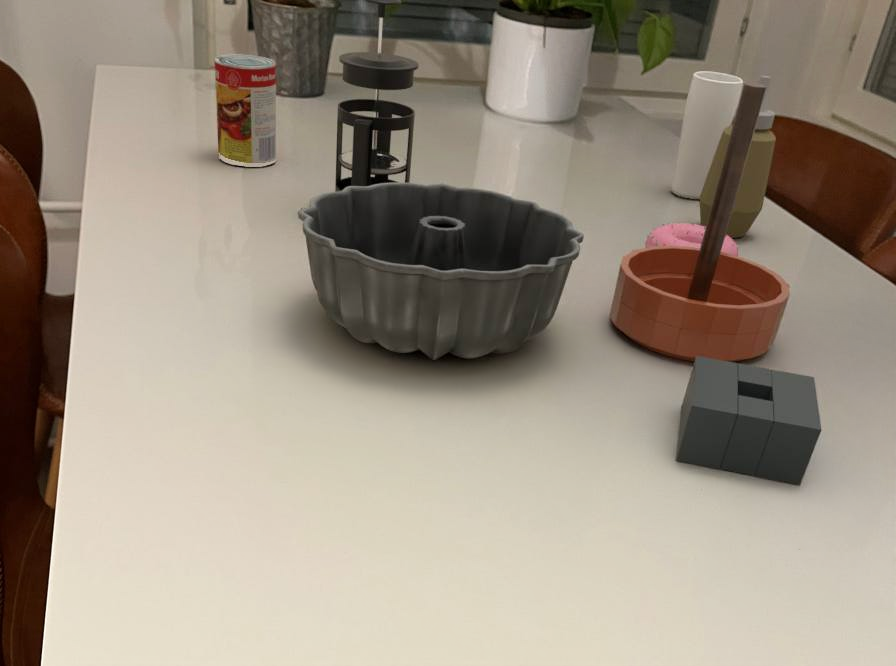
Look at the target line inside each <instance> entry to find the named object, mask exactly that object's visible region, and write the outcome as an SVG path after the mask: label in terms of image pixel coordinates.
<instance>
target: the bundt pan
mask: <svg viewBox="0 0 896 666" xmlns="http://www.w3.org/2000/svg"><path fill="white" fill-rule="evenodd" d="M308 205H309V206H307V207H304V208H300V209H299V210H298V211H297V215H298V219H299V220H300V221H302V232H303V235H304V236H305V242H306V249H307V256H308V262H309V268H310V270H309V271H310V276H311V280H312V284H313V286H314V290H315V291H316V294H317V297H318V301H319V304H320V305H321V307H322V309H323V311H324V312H325V313H326V315H327V316H328V317H329V318H330V319H331V320H332V321H333V322H335V323H336V324H337V325H339V326H340V327H342V328H344V329H346V331H347V333H349V335H350V336H351V337H352V338H353V339H354V340H357V341H359V342H361V343H363V344H376V343H377V344H379V345H380V346H381V347H382V348H384V349H386V350H388V351H390V352H393V353H398V354H408V353H409V354H410V353H414V352H416V351H419V350H420V351H421V352H422V353H423V354H424V355H426V356H427V357H428V358H429V359H430V360H432V361H436V360H438V359H439V358H441V357H443V356H445V355H446V354H448V353H450V354H452V355H453V356H455V357H457V358H461V359H477V358H481V357H483V356H485V355H488V354H490V353H492V354H493V353H494V354H498V355H499V354H501V355H505V354H509V353H512V352H515V351H516V350H518V349H519V348H520V347H522V346H523V344H524V343H525V342H527V341H529V340H531V339H534V338H535V337H537V336H538V335H539V334H541V333H542V332H543V331H544V330H545V329H546V328H547V326H549V324H551V321H552V319H553V318H554V316H555V314H556V311H557V309H558V306H559V303H560V300H561V297H562V295H563V292H564V289H565V286H566V283H567V279H568V276H569V274H570V270H571V267H572V264H573V261H575V260H576V259H578V257H579V255H580V252H581V245H580V244H582V242H583V241H584V237H585V234H584V233H582V232H580V231H578V230H576V229H574V227H573V223H572V221H571V220H570V219H569V218H567V216H565V215H563V214H561V213H558V212H556V211H553V210H551V209H546V208H542V207H540V205H539V204H538V203H537V202H536V201H531V200H525V199H519V198H514V197H512V196H510V195H508V194H505V193H501V192H498V191H493V190H488V189H483V188H473V187H458V186H455V185H450V184H447V183H446V184H445V183H430V184H423V183H414V182H409V183H405V182H401V181H397V182H391V183H380V184H374V185H371V186H348V187H345V188H344V189H343V190H342V191H337V192H335V191H331V192H325V193H321V194H319V195H316V196H314V197H313V198H311V199H310V201H309V204H308Z"/></svg>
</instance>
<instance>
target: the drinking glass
mask: <svg viewBox="0 0 896 666" xmlns="http://www.w3.org/2000/svg"><path fill="white" fill-rule="evenodd" d="M743 85H744V80H743V79H742V78H741V77H739V76H736V75H733V74H729V73H723V72H717V71H706V70H705V71H702V70H701V71H696V72H693V74H692V78H691V82H690V85H689V89H688V93H687V98H686V101H685V106H684V111H683V119H682V124H681V130H680V137H679V145H678V150H677V155H676V162H675V167H674V173H673V178H672V182H671V187H670V190H671V192H672V194H674V195H675V194H676V196H677V195H678V196H677V197H680V196H681V197H680V198H683V197H684V198H683V199H687V198H689V199H688V200H700V194H701V191H702V188H703V186H704V183H705V180H706V177H707V174H708V172H709V169H710V166H711V163H712V160H713V158H714V155H715V152H716V149H717V146H718V144H719V141H720V138H721V135H722V132H723V130H724V129H725V128H726V127H728V126H730V125H733V123H734V117H735V113H736V110H737V108H738V104H739V101H740V97H741V93H742V89H743Z"/></svg>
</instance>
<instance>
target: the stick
mask: <svg viewBox="0 0 896 666" xmlns="http://www.w3.org/2000/svg"><path fill="white" fill-rule="evenodd" d="M766 89H767V86H765V85H763V84H759V83H757V82H753V81H751V82H749V81H747V82H743V85H742V89H741V93H740V97H739V101H738V105H737V109H736V110H737V112H735V113H736V116H734V117H735V119H733V122H732V125H733V127H732V131H731V134H730V138H729V142H728V146H727V149H726V153H725V157H724V161H723V164H722V168H721V172H720V176H719V180H718V183H717V187H716V191H715V195H714V198H713V202H712V206H711V210H710V213H709V217H708V221H707V225H706V228H705V232H704V236H703V240H702V243H701V247H700V251H699V255H698V258H697V262H696V266H695V270H694V273H693V277H692V281H691V285H690V288H689V292H688V296H687V299H691V300H696V301H702V302H707V299H708V296H709V292H710V288H711V285H712V281H713V278H714V274H715V271H716V267H717V263H718V260H719V256H720V253H721V249H722V246H723V242H724V238H725V235H726V231H727V228H728V224H729V221H730V217H731V213H732V210H733V206H734V203H735V199H736V196H737V192H738V188H739V185H740V181H741V178H742V174H743V171H744V167H745V163H746V160H747V156H748V153H749V149H750V146H751V142H752V139H753V135H754V131H755V128H756V124H757V121H758V117H759V114H760V110H761V106H762V103H763V99H764V96H765V92H766Z"/></svg>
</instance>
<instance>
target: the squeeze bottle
mask: <svg viewBox="0 0 896 666" xmlns="http://www.w3.org/2000/svg"><path fill="white" fill-rule="evenodd" d="M756 83H759V84H763V85H765V86H767V89H766V92H765V96H764V99H763V103H762V106H761V110H760V114H759V117H758V121H757V124H756V128H755V131H754V135H753V139H752V142H751V146H750V149H749V153H748V156H747V160H746V163H745V167H744V171H743V174H742V178H741V181H740V185H739V188H738V192H737V196H736V199H735V203H734V206H733V210H732V213H731V217H730V221H729V224H728V228H727V231H726V235H729V237H730V238H732V239H734V238H743V237H745V236H747V233H749V230H750V229H751V227H752V225H753V224H754V222H755V220H756V219H757V218H758V216H759V215H760V213H761V212H762V210H763V206H764V201H765V196H766V191H767V187H768V181H769V176H770V171H771V166H772V161H773V156H774V151H775V146H776V141H777V138H776V135H775V134H774V132H773V131H771V130H770V129H772V127H773V123H774V120H775V116H776V112H774V111H772V110H770V109H769V97H770V87H771V77H770V76H769V75H760V76H759V79H758V80H757V82H756ZM736 112H737V109H736ZM736 112H735V116H736ZM735 116H734V119H735ZM734 119H733V120H734ZM732 127H733V124H732V125H730V126H728V127H726V128H725V129H724V130H723V132H722V135H721V138H720V141H719V144H718V146H717V149H716V152H715V155H714V158H713V160H712V163H711V166H710V169H709V172H708V174H707V177H706V180H705V183H704V186H703V188H702V191H701V194H700V199H699V217H700V218H699V219H700V224H701V226H705V227H706V225H707V221H708V217H709V213H710V210H711V206H712V202H713V198H714V195H715V191H716V187H717V183H718V180H719V176H720V172H721V168H722V164H723V161H724V157H725V153H726V149H727V146H728V142H729V138H730V134H731V131H732Z"/></svg>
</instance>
